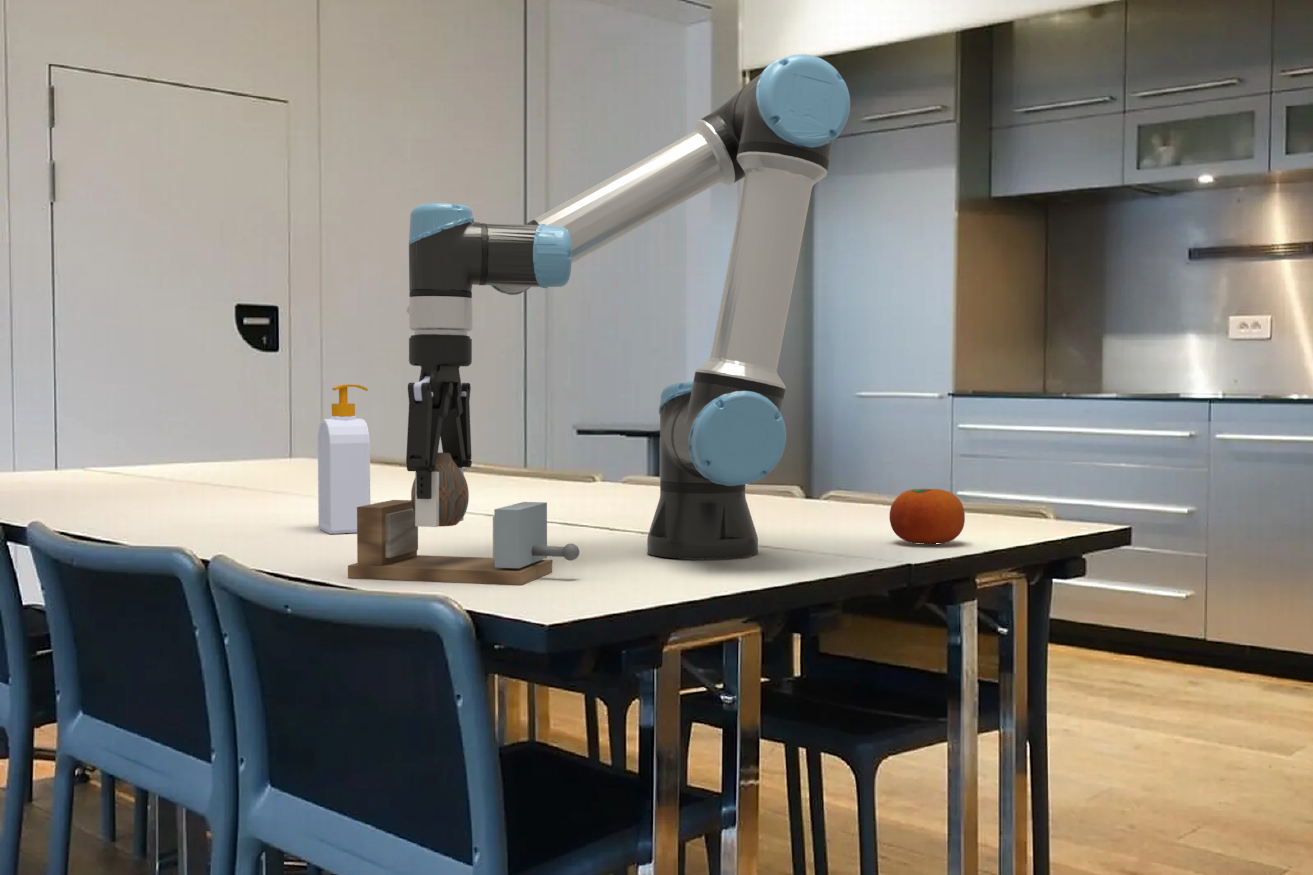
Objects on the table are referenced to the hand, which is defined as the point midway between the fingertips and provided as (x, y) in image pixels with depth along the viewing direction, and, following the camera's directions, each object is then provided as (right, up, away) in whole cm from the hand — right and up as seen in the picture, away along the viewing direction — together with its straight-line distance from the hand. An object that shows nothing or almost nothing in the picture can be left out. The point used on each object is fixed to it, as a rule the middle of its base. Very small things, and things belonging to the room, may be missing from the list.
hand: (439, 522), depth 167 cm
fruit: (+65, -5, +32) cm, 73 cm away
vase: (0, 0, 0) cm, 0 cm away
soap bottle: (-22, -4, +48) cm, 53 cm away
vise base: (+1, -6, 0) cm, 7 cm away
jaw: (+13, -5, -3) cm, 14 cm away
